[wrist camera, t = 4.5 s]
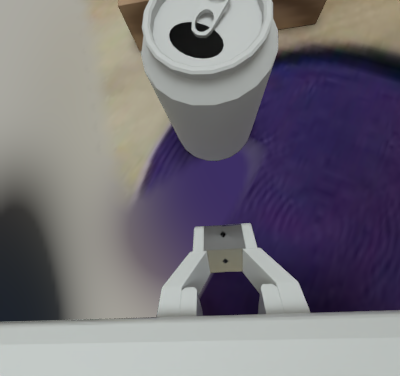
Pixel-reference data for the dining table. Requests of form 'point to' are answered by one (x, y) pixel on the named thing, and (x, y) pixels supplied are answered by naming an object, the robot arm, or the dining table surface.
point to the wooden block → (282, 14)
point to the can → (210, 68)
